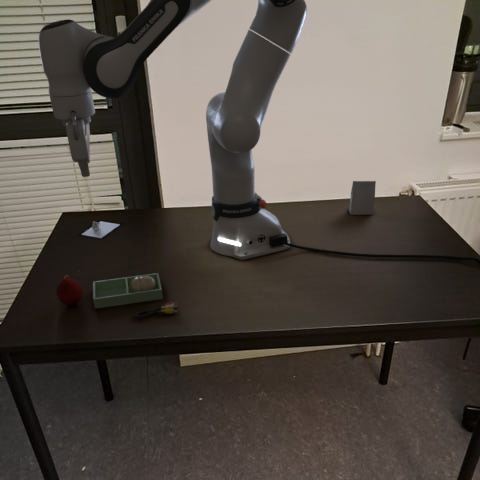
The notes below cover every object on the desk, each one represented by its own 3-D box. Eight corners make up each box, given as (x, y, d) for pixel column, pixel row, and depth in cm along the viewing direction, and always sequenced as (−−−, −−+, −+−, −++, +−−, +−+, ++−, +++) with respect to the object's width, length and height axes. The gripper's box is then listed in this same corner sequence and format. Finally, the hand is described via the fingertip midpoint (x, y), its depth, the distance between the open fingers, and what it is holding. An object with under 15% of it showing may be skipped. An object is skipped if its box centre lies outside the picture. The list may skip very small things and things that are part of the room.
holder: (159, 282, 129) (158, 272, 127) (163, 299, 122) (161, 289, 121) (95, 291, 126) (92, 281, 124) (95, 309, 120) (92, 299, 118)
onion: (78, 313, 118) (71, 283, 114) (55, 311, 119) (47, 281, 115) (89, 299, 123) (83, 270, 118) (67, 297, 124) (60, 268, 119)
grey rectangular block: (372, 214, 159) (376, 183, 154) (350, 214, 160) (353, 183, 154) (370, 209, 162) (374, 179, 157) (349, 209, 163) (352, 179, 157)
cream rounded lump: (155, 286, 127) (153, 271, 124) (157, 294, 124) (155, 279, 121) (131, 289, 126) (128, 274, 123) (132, 298, 122) (129, 283, 120)
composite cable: (135, 321, 115) (133, 311, 114) (136, 309, 119) (135, 300, 118) (179, 317, 116) (178, 308, 115) (179, 306, 120) (178, 297, 118)
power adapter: (91, 231, 154) (89, 222, 152) (96, 228, 156) (94, 218, 154) (100, 233, 153) (98, 223, 151) (105, 229, 155) (103, 220, 153)
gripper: (87, 116, 104) (100, 182, 112) (88, 95, 120) (99, 154, 128) (55, 119, 103) (71, 186, 111) (60, 98, 119) (73, 157, 127)
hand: (86, 169), depth 120 cm, fingers open, 8 cm apart
